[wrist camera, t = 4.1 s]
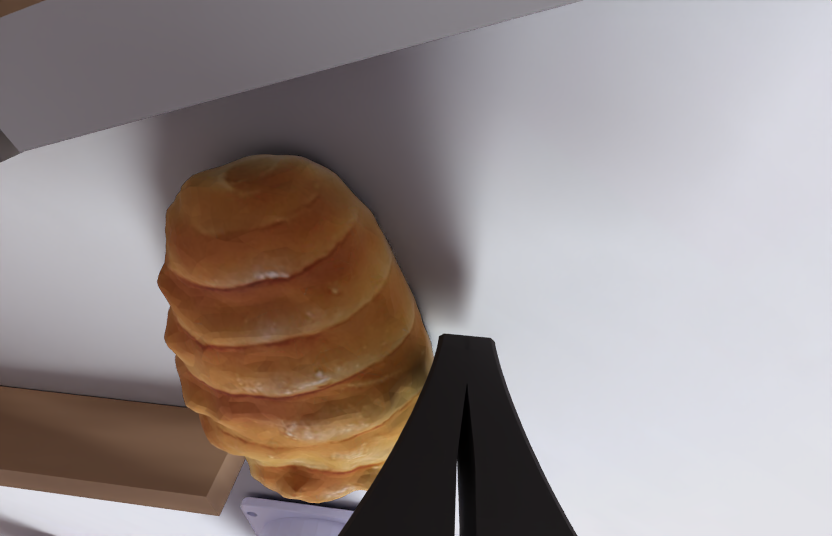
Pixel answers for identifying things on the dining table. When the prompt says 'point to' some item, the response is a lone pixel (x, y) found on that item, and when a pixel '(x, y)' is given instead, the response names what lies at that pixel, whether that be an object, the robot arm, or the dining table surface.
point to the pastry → (291, 324)
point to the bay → (109, 439)
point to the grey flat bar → (197, 52)
